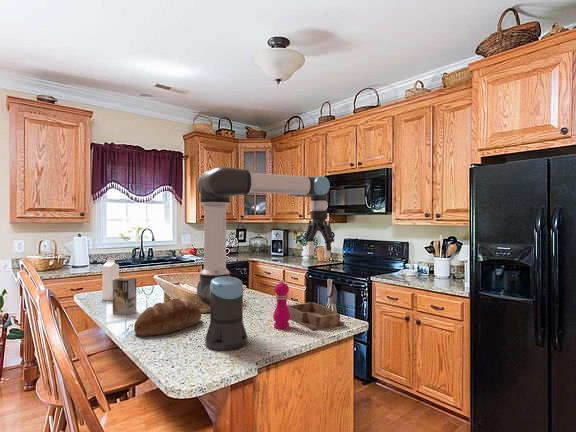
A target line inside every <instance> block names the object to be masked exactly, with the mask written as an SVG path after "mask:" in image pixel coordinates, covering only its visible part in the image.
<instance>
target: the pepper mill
mask: <svg viewBox="0 0 576 432" xmlns="http://www.w3.org/2000/svg"><path fill="white" fill-rule="evenodd" d="M284 282H285V280H284V279H282V278H281V279H280V280H279V283H277V284H276V285H275V286H274V292H275V299H276V307H275V308H274V311H273V313H272V314H273V315H272V318H273V321H274V322H273V323H274V324H273V329H275V330H286V329H289V328H290V323H289V321H290V313H289V310H288V308H287V305H288V304H287V303H288V302H287V299H289V296H288V293H290V287H289V285H288V284H287V283H284Z"/></svg>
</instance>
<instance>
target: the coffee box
mask: <svg viewBox="0 0 576 432" xmlns="http://www.w3.org/2000/svg"><path fill="white" fill-rule="evenodd" d="M135 312H137V278H130V277H129V278H128V277H119V278H118V279H115V280H113V300H112V314H118V315H130V314H133V313H135Z"/></svg>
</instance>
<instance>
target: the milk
mask: <svg viewBox="0 0 576 432" xmlns="http://www.w3.org/2000/svg"><path fill="white" fill-rule="evenodd" d="M101 267H102V268H101V269H102V272H101V273H102V275H101V276H102V277H101V278H102V283H101V284H102V286H101V291H102V292H101V296H102V297H101V299H102V301H113V280H115V279H118V278H120V265H119V264H118V263H116V262H115V259H106V262H105V263H104V264H103V265H102V266H101Z"/></svg>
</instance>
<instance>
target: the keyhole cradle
mask: <svg viewBox="0 0 576 432" xmlns="http://www.w3.org/2000/svg"><path fill="white" fill-rule="evenodd" d="M287 308H288V310H289V313H290V320H291V321H292V322H295V323H296V324H299V325H301V326H303V327H305V328H306V329H308V330H311V331H318V330H325V329H328V328H329V329H330V327H331V328H335V326H336V327H341V326H345V322H344V321H341V314H340V313H338V312H335V311H333V310H332V308H330V307H327V306H324V305H322V304H319V303H316V302H314V301H313V302H303V303H295V304H287ZM290 320H289V321H290ZM324 328H325V329H324Z"/></svg>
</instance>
